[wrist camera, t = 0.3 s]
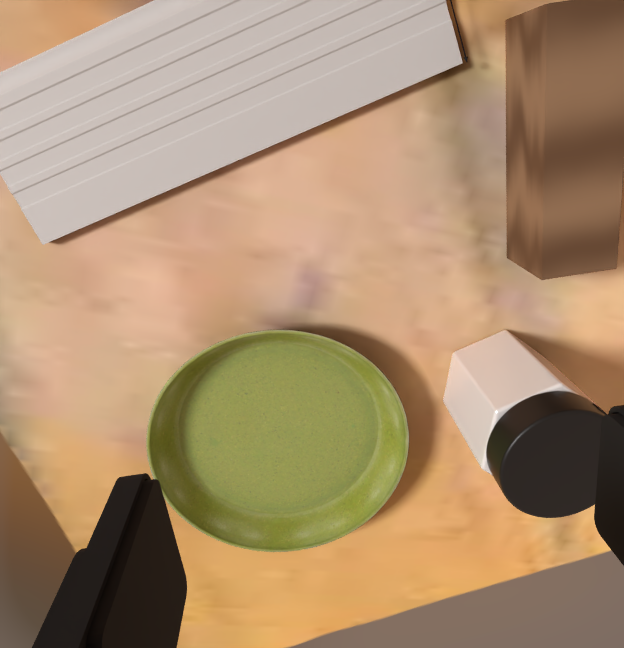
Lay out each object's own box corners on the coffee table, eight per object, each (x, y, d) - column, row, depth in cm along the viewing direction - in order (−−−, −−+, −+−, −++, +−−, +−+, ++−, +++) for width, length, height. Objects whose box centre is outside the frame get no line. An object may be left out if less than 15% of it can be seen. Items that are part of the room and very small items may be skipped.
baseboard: (-52, 70, 35) (51, 240, 39) (-79, 66, 32) (34, 249, 36) (400, -144, 32) (456, 64, 36) (412, -167, 29) (471, 60, 34)
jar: (527, 427, 47) (606, 526, 36) (435, 423, 46) (487, 523, 35) (553, 331, 44) (649, 407, 32) (455, 325, 43) (518, 401, 32)
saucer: (347, 273, 41) (352, 286, 38) (432, 476, 48) (442, 500, 45) (106, 376, 43) (93, 396, 40) (224, 556, 50) (220, 584, 47)
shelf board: (504, 20, 35) (547, 3, 30) (579, 9, 35) (636, -10, 30) (505, 257, 41) (541, 280, 36) (570, 247, 41) (616, 268, 36)
